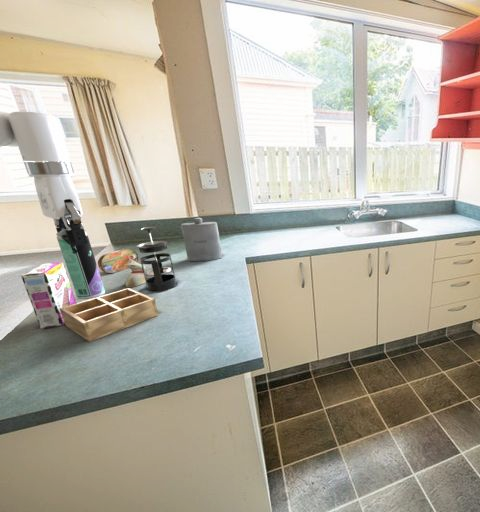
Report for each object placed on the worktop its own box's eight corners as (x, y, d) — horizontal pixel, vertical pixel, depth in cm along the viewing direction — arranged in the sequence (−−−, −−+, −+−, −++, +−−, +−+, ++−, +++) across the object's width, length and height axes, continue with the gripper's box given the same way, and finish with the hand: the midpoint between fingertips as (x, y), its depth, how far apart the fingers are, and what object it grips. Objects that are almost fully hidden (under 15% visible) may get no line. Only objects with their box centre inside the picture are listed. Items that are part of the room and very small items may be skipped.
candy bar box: (64, 325, 86) (44, 272, 81) (40, 329, 83) (18, 275, 78) (80, 309, 95) (63, 261, 90) (58, 312, 93) (40, 263, 88)
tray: (89, 341, 78) (83, 323, 76) (65, 325, 86) (59, 308, 84) (158, 315, 92) (154, 298, 90) (133, 303, 99) (128, 287, 98)
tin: (105, 276, 122) (99, 256, 119) (99, 275, 122) (93, 256, 120) (140, 264, 136) (136, 246, 133) (135, 263, 136) (130, 246, 134)
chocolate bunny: (152, 281, 116) (146, 257, 113) (127, 288, 110) (120, 263, 107) (146, 278, 119) (140, 255, 116) (122, 285, 113) (115, 260, 110)
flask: (186, 262, 139) (177, 220, 133) (189, 258, 144) (181, 217, 138) (221, 259, 143) (214, 218, 137) (223, 255, 149) (217, 216, 142)
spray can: (106, 294, 80) (84, 222, 74) (78, 301, 77) (52, 226, 70) (103, 289, 84) (82, 219, 78) (76, 295, 80) (51, 222, 74)
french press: (148, 284, 114) (133, 226, 107) (177, 279, 119) (165, 223, 112) (145, 295, 105) (128, 232, 98) (177, 289, 110) (163, 229, 102)
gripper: (15, 169, 71) (41, 242, 76) (40, 171, 63) (67, 252, 69) (59, 168, 77) (80, 236, 83) (86, 170, 69) (108, 244, 75)
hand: (74, 242), depth 76 cm, fingers closed on spray can, 5 cm apart
